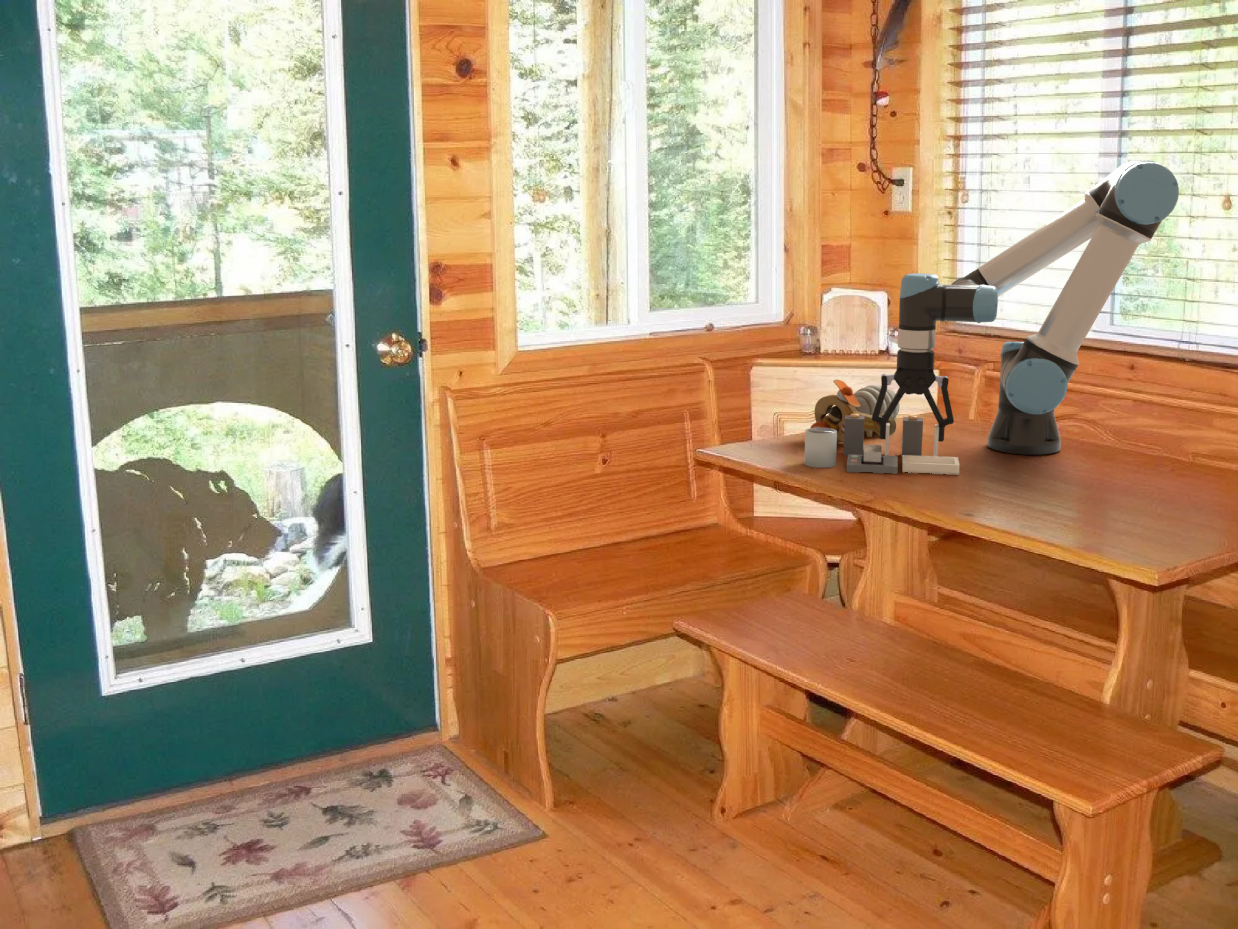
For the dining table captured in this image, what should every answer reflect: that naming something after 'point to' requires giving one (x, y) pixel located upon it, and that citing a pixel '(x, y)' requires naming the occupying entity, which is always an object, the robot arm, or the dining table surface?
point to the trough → (930, 464)
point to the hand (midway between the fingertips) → (910, 455)
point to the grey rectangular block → (872, 453)
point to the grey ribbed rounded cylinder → (874, 401)
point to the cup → (820, 447)
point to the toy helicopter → (843, 412)
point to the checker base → (888, 465)
